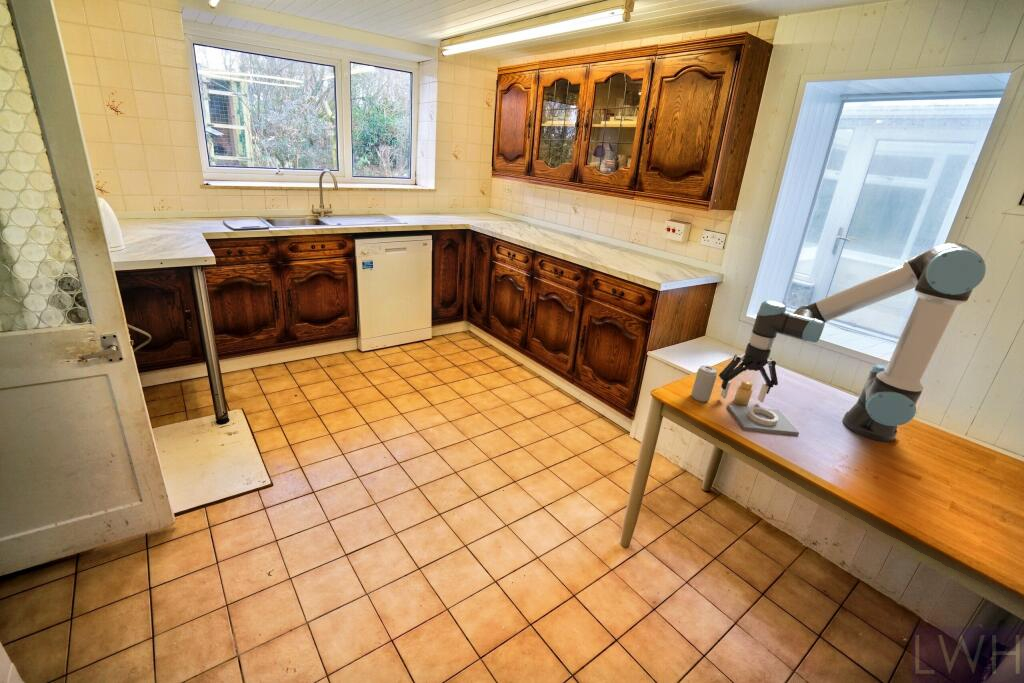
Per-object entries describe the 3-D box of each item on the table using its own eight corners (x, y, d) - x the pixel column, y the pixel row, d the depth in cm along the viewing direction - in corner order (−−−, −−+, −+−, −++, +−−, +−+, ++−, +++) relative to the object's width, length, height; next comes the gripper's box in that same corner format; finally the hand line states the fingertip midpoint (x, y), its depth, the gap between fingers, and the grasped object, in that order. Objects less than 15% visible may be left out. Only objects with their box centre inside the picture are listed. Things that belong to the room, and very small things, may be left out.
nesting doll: (744, 399, 175) (751, 380, 172) (750, 406, 170) (756, 386, 167) (731, 398, 175) (737, 379, 172) (736, 405, 170) (743, 385, 167)
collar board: (777, 412, 168) (780, 405, 167) (798, 435, 155) (800, 428, 154) (727, 407, 168) (729, 400, 167) (743, 429, 155) (746, 422, 154)
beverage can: (710, 397, 173) (719, 368, 169) (706, 404, 168) (716, 374, 164) (693, 391, 176) (701, 362, 172) (688, 398, 171) (697, 368, 167)
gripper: (790, 344, 167) (770, 397, 176) (719, 337, 167) (704, 389, 175) (801, 353, 160) (780, 407, 169) (728, 345, 160) (711, 400, 168)
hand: (741, 398), depth 172 cm, fingers open, 13 cm apart
